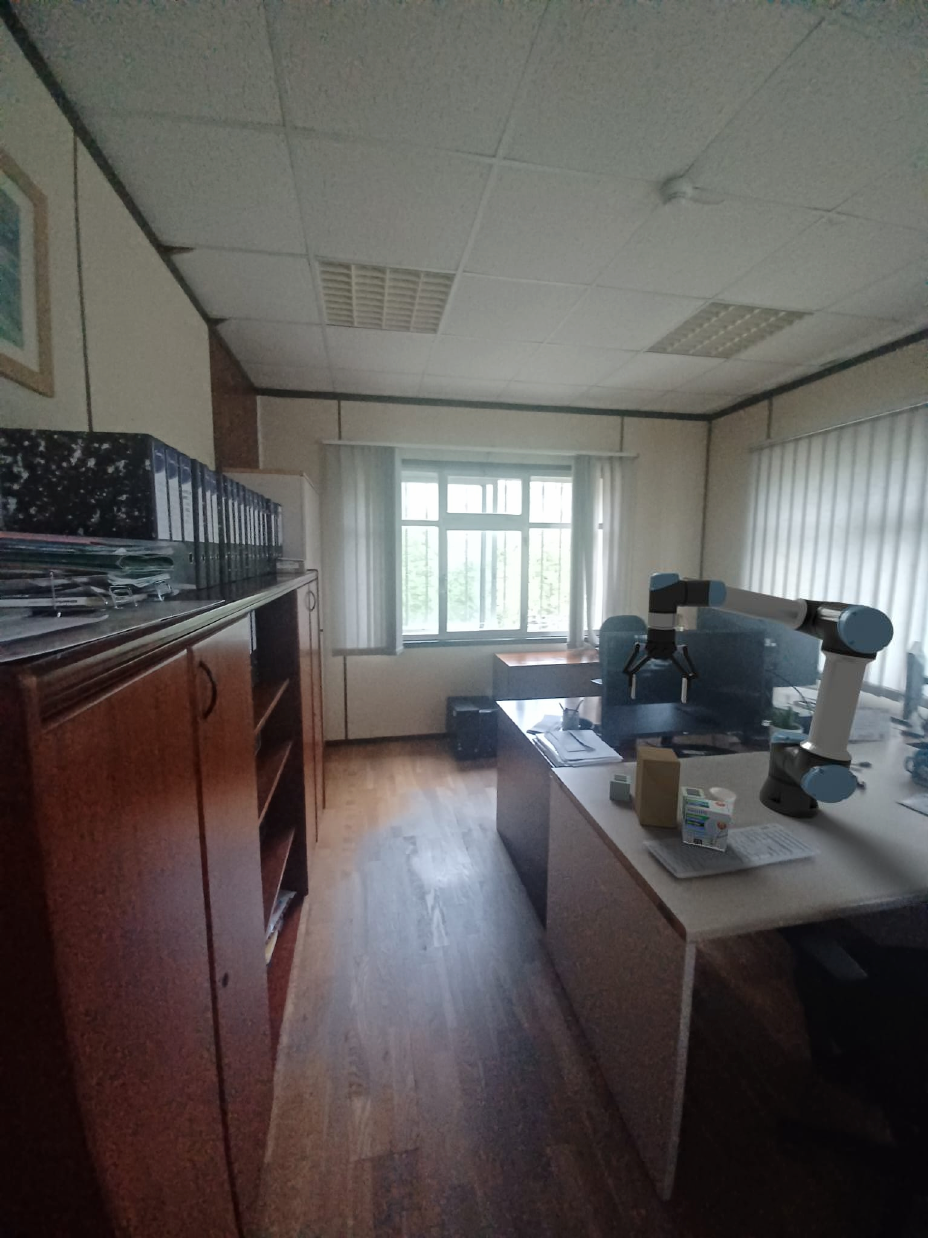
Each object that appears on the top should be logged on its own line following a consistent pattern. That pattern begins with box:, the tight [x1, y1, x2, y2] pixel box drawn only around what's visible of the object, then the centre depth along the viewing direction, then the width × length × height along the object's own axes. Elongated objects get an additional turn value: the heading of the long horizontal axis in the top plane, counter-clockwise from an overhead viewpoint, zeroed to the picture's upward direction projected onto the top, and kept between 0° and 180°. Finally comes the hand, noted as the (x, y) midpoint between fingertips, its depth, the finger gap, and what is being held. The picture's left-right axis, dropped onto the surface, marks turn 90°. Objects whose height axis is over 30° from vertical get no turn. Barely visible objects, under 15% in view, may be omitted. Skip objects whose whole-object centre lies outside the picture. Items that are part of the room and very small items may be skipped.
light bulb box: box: [681, 796, 730, 850], centre depth 125 cm, size 11×7×11 cm, turn 68°
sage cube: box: [679, 785, 706, 815], centre depth 140 cm, size 6×6×6 cm
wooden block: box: [633, 745, 681, 829], centre depth 136 cm, size 10×10×20 cm
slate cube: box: [609, 772, 631, 802], centre depth 149 cm, size 6×6×6 cm
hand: (657, 699), depth 134 cm, fingers open, 13 cm apart
